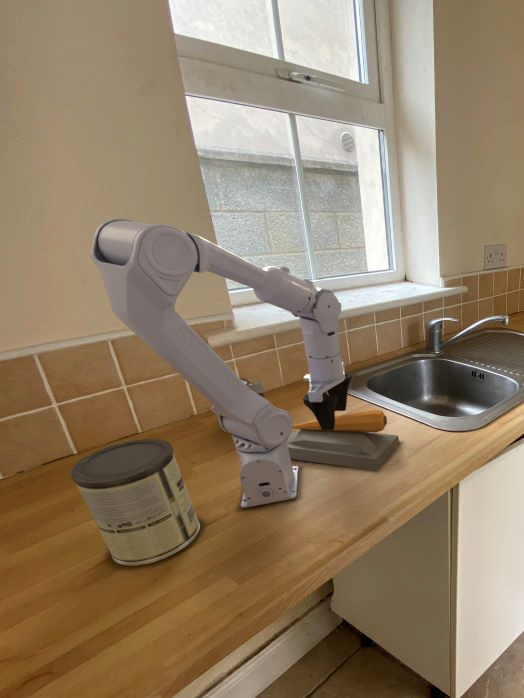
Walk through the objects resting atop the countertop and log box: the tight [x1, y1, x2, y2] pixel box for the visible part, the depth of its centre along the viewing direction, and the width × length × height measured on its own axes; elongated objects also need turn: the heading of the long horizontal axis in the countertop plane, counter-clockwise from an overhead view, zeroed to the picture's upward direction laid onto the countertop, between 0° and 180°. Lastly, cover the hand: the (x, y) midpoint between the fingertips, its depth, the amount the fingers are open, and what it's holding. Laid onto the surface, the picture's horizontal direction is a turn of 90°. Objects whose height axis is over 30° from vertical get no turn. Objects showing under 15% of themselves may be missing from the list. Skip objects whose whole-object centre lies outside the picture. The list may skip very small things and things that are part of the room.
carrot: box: [292, 409, 388, 433], centre depth 88 cm, size 20×4×4 cm, turn 95°
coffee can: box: [69, 438, 201, 567], centre depth 62 cm, size 10×10×14 cm
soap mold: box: [287, 429, 400, 471], centre depth 88 cm, size 10×20×4 cm, turn 82°
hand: (334, 419), depth 87 cm, fingers open, 7 cm apart
